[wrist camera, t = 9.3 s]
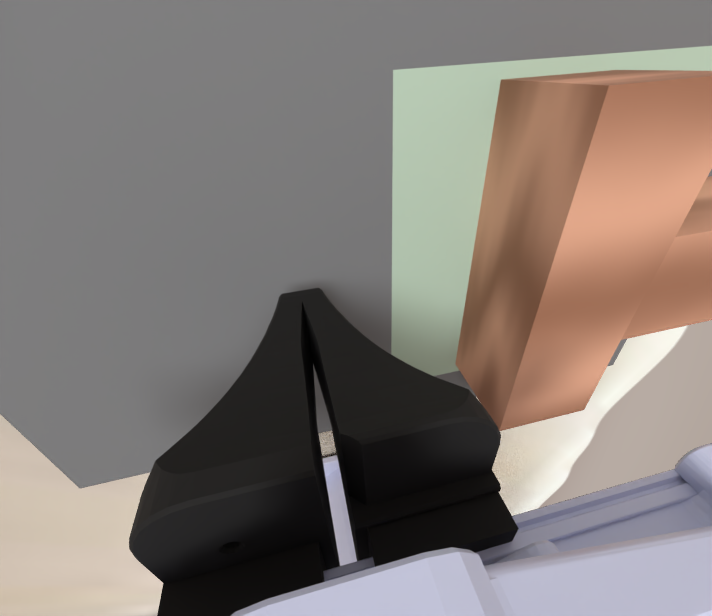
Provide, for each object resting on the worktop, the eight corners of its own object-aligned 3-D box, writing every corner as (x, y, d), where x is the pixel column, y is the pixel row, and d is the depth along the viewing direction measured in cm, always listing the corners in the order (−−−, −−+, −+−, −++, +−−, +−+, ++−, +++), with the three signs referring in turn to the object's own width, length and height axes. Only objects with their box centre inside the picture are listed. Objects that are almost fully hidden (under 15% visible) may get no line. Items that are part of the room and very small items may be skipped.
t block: (655, 321, 19) (734, 372, 16) (455, 363, 17) (499, 430, 14) (811, 53, 12) (1010, 48, 9) (501, 79, 10) (609, 85, 7)
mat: (604, 358, 21) (612, 365, 21) (84, 476, 17) (79, 488, 16) (820, -62, 11) (847, -68, 10) (-431, -36, 6) (-489, -45, 6)
